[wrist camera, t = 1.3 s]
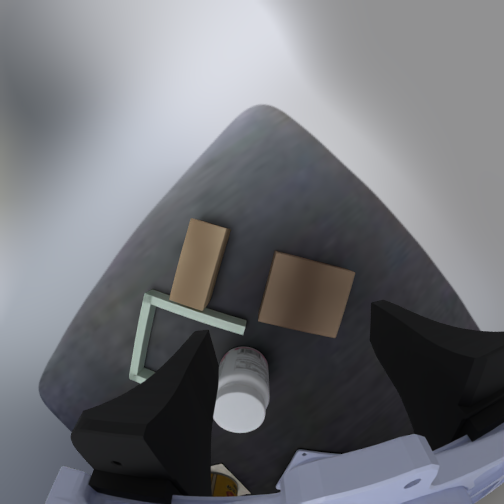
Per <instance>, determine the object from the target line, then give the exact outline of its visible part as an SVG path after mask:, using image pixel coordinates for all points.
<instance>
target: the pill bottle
mask: <svg viewBox="0 0 504 504" xmlns="http://www.w3.org/2000/svg"><path fill="white" fill-rule="evenodd" d="M268 403H269V373H268V364H267V361H266V359H265V357H264V356H263V355H262V354H261V353H260V352H259V351H258V350H256V349H254V348H251V347H237V348H233V349H231V350H230V351H228V352H227V353H226V354H225V355H224V356H223V358H222V360H221V362H220V366H219V382H218V391H217V397H216V403H215V410H214V416H213V418H214V420H215V421H216V423H217V424H218V425H219V426H220V427H222V428H223V429H225V430H228V431H231V432H236V433H245V432H250V431H252V430H254V429H256V428H258V427H259V426H260V425H261V424H262V422H263V421H264V418H265V412H266V408H267V406H268Z"/></svg>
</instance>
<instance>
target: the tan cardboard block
mask: <svg viewBox="0 0 504 504" xmlns="http://www.w3.org/2000/svg"><path fill="white" fill-rule="evenodd" d="M354 275H355V272H353V271H350V270H348V269H345V268H341V267H337V266H333V265H330V264H326V263H322V262H318V261H314V260H310V259H306V258H302V257H298V256H294V255H290V254H287V253H283V252H279V251H275V252H274V256H273V260H272V264H271V268H270V271H269V275H268V279H267V283H266V287H265V291H264V294H263V298H262V302H261V306H260V309H259V314H258V321H259V322H264V323H268V324H272V325H276V326H281V327H285V328H289V329H294V330H298V331H303V332H308V333H312V334H317V335H322V336H327V337H332V338H336V335H337V332H338V329H339V326H340V322H341V319H342V316H343V313H344V310H345V306H346V303H347V300H348V296H349V293H350V290H351V286H352V283H353V279H354Z"/></svg>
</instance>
